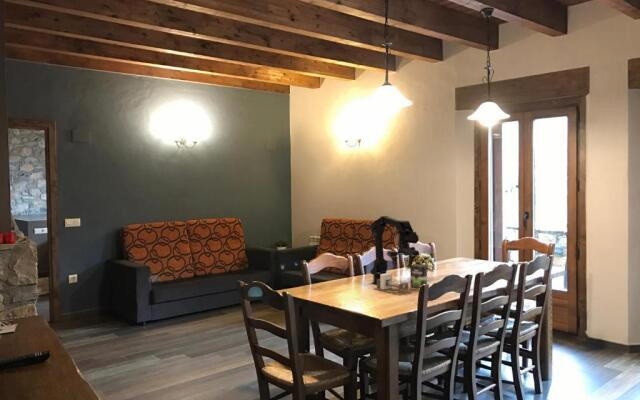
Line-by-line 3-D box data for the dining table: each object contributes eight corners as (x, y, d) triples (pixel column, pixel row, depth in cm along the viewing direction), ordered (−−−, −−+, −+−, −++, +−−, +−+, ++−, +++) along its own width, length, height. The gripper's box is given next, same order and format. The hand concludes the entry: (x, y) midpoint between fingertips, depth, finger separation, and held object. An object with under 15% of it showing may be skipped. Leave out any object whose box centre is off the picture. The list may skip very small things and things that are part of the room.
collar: (380, 288, 321) (380, 274, 320) (388, 287, 325) (388, 273, 325) (383, 289, 318) (383, 275, 318) (392, 287, 323) (392, 273, 322)
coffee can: (424, 290, 319) (424, 267, 319) (408, 289, 324) (408, 266, 324) (429, 287, 328) (429, 264, 328) (413, 286, 333) (413, 263, 333)
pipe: (374, 288, 323) (374, 279, 322) (386, 286, 328) (386, 277, 328) (398, 294, 307) (398, 284, 307) (410, 291, 313) (410, 282, 313)
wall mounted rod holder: (373, 289, 323) (373, 279, 323) (385, 287, 329) (385, 277, 329) (399, 295, 306) (399, 285, 306) (411, 293, 312) (411, 282, 312)
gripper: (394, 243, 309) (394, 270, 310) (423, 243, 315) (423, 269, 315) (387, 241, 320) (386, 267, 321) (415, 240, 325) (414, 265, 326)
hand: (403, 267), depth 321 cm, fingers open, 9 cm apart
